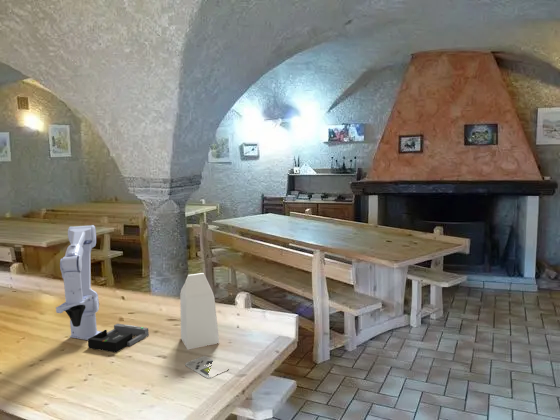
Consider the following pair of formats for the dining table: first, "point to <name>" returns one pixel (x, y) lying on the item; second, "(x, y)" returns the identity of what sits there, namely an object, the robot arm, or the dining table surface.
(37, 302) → the dining table surface
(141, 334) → the grey u-shaped bracket
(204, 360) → the handheld gaming device
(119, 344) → the battery charger
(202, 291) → the milk
